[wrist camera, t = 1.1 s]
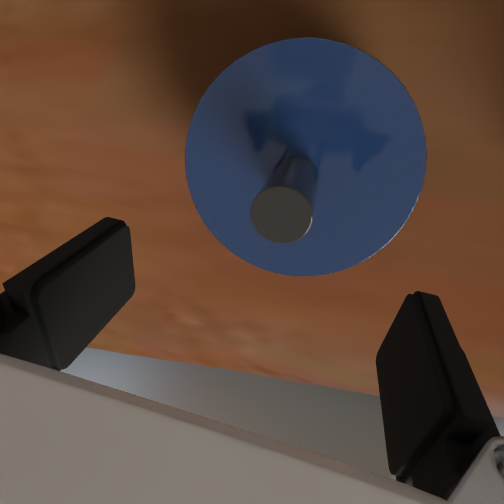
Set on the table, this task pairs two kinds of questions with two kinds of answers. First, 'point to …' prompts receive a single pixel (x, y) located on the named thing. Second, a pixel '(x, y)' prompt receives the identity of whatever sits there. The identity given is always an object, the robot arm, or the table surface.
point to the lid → (305, 156)
